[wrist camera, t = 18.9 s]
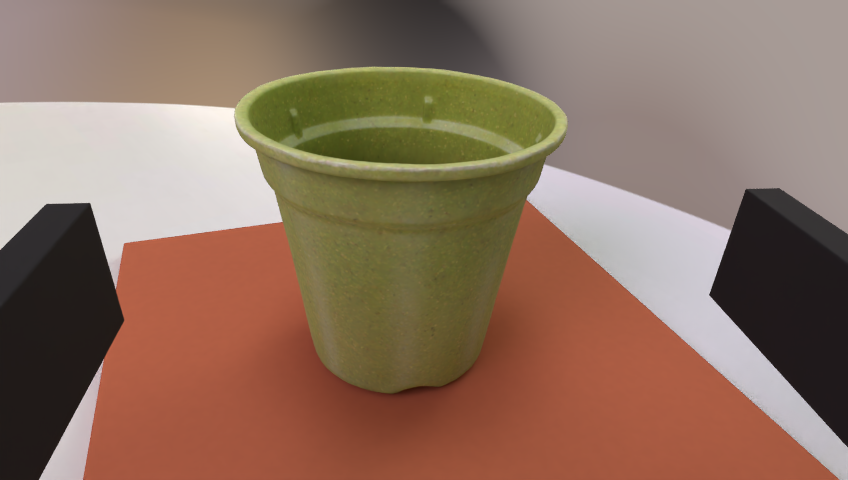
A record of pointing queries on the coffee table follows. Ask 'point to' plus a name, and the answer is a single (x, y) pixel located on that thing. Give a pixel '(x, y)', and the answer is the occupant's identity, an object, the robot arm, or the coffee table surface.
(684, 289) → the coffee table surface
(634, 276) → the coffee table surface
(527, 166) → the plant pot
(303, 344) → the terracotta mat
